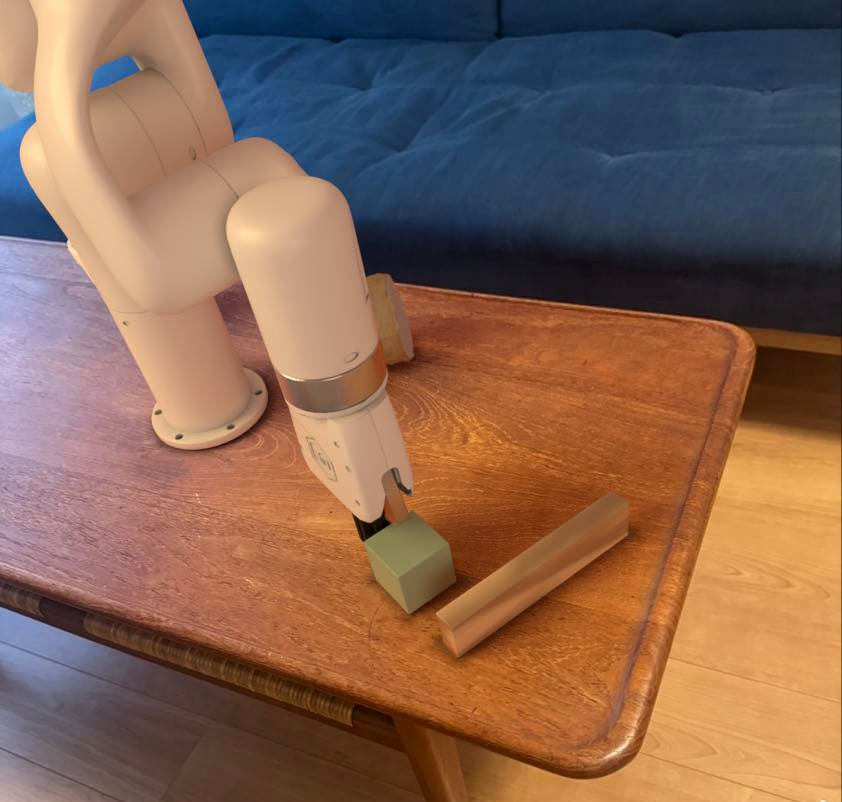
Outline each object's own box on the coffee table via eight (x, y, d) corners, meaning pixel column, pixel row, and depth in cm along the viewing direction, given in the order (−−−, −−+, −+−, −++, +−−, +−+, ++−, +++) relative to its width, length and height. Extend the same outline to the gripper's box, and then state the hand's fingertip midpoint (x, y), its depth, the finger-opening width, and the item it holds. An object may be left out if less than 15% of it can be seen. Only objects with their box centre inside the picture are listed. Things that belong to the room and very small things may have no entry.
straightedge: (443, 641, 64) (435, 612, 61) (611, 522, 69) (611, 489, 66) (458, 658, 63) (451, 629, 60) (628, 535, 68) (629, 502, 65)
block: (375, 579, 69) (362, 541, 66) (422, 548, 71) (412, 509, 67) (409, 615, 66) (398, 577, 63) (457, 581, 68) (449, 543, 64)
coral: (433, 322, 80) (332, 301, 78) (408, 395, 88) (316, 377, 86) (433, 263, 86) (339, 241, 84) (410, 336, 94) (323, 318, 92)
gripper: (235, 346, 60) (301, 512, 74) (343, 447, 51) (394, 614, 65) (320, 300, 62) (369, 470, 76) (438, 389, 53) (468, 563, 67)
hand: (380, 536), depth 70 cm, fingers closed
